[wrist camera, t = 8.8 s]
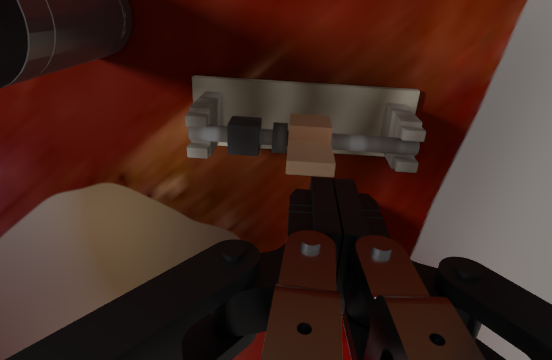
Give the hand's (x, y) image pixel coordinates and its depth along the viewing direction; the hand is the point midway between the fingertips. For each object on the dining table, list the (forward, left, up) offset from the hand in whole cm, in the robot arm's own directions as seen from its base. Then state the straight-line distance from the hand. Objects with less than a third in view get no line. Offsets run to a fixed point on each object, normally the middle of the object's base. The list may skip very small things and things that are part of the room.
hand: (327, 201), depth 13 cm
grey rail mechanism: (0, -6, -31) cm, 32 cm away
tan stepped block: (0, -6, -25) cm, 26 cm away
